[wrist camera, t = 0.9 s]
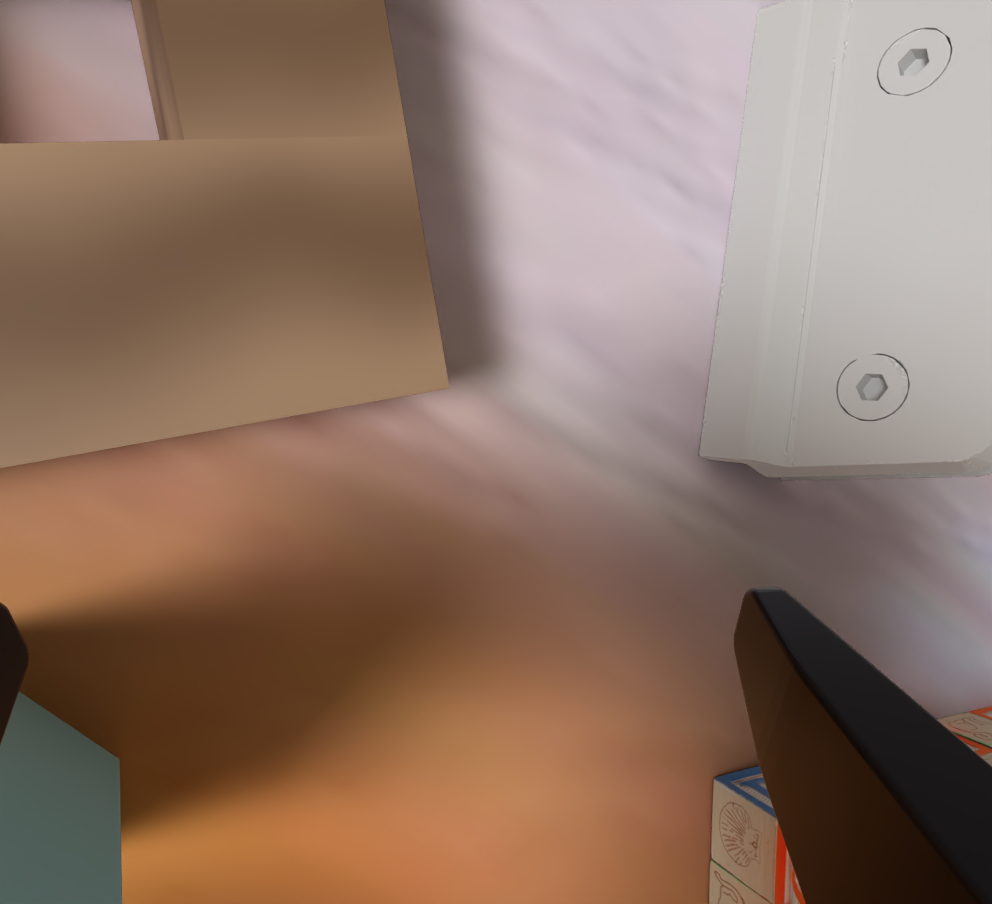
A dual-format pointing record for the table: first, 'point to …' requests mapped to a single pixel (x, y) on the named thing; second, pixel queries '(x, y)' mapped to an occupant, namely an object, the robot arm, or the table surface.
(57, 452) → the socket block
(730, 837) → the stack of blocks
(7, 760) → the keyed peg
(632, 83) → the table surface
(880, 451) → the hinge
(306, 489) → the table surface
